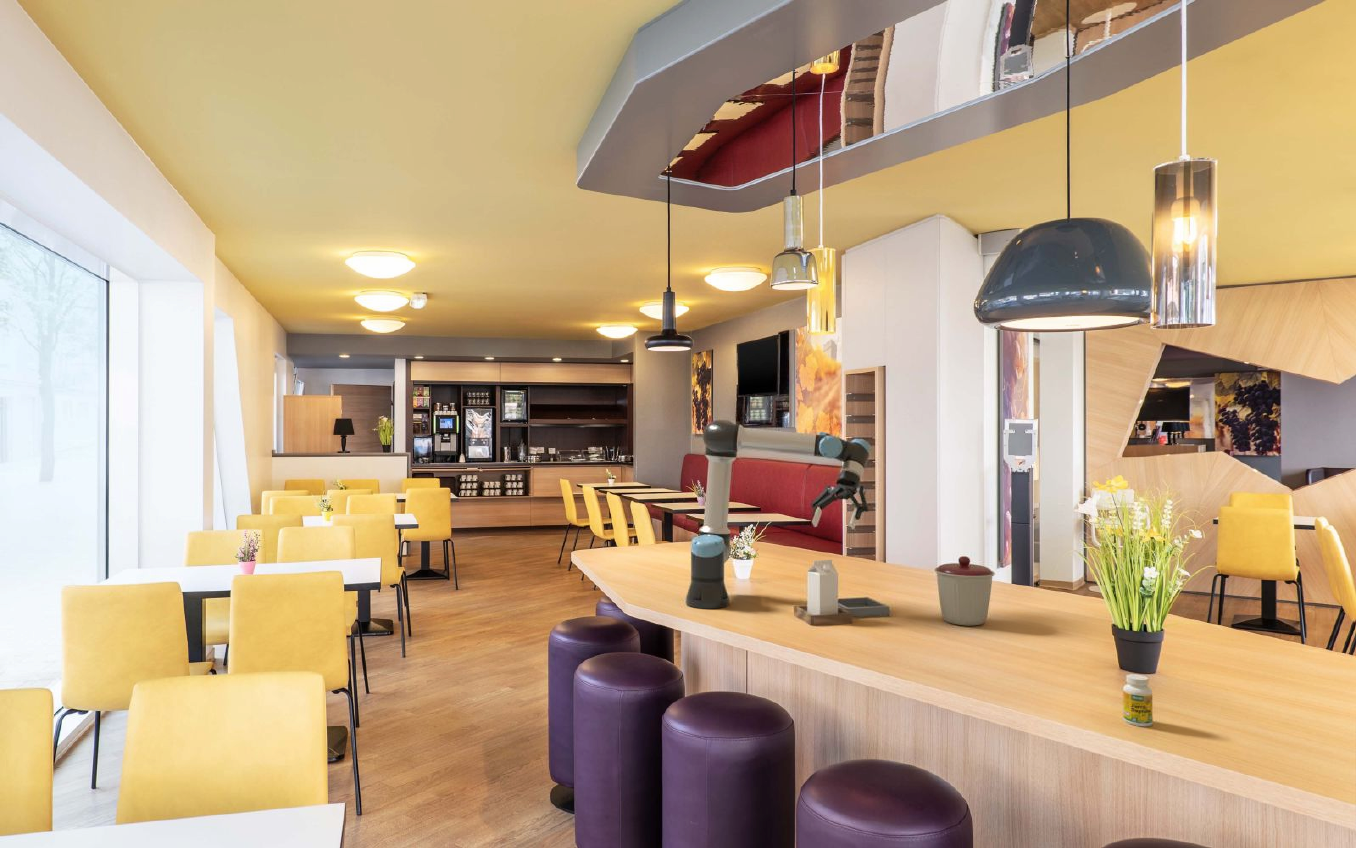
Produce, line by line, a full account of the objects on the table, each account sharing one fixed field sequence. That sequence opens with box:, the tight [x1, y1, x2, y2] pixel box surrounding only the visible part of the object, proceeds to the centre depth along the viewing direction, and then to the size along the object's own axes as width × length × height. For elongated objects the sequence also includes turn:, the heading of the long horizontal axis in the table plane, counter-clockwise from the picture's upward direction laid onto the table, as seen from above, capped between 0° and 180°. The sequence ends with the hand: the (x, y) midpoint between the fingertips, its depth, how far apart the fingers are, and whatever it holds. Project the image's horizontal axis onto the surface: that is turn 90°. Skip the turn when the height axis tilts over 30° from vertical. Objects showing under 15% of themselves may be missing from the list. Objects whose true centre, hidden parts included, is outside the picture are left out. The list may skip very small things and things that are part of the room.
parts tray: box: [838, 596, 890, 619], centre depth 268 cm, size 15×15×3 cm
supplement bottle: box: [1122, 673, 1154, 728], centre depth 167 cm, size 5×5×10 cm
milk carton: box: [806, 559, 839, 615], centre depth 257 cm, size 7×7×19 cm
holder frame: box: [793, 604, 853, 626], centre depth 257 cm, size 14×14×3 cm
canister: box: [934, 555, 995, 627], centre depth 254 cm, size 18×18×21 cm
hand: (832, 525), depth 264 cm, fingers open, 13 cm apart
